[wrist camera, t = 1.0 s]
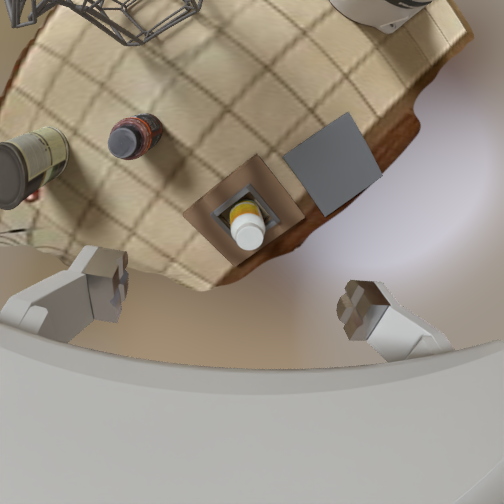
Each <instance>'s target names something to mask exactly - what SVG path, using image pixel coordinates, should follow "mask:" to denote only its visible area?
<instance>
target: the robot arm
mask: <svg viewBox="0 0 504 504" xmlns="http://www.w3.org/2000/svg"><path fill="white" fill-rule="evenodd" d="M329 1H330V2H331V3H332V4H333V6H334V7H335V8H336V9H337V10H339V11H340V12H341V13H342V14H344V15H345V16H347V17H348V18H350V19H352V20H354V21H356V22H358V23H361V24H365V25H369V26H373V27H375V28H377V29H379V30H380V31H382V32H383V33H385V34H391V33H393V32H394V31H396V30H397V29H398V28H399V27H400V26H402V25H403V24H404V23H405V22H406V21H408V20H409V19H410V18H411V17H413V16H414V15H415V14H416V13H418V12H419V11H420V10H421V9H423V8H424V7H425V6H426V5H428V4H430V3H431V2H432V1H434V0H329ZM390 24H391V25H392V27H391V26H390ZM127 264H128V254H127V252H126V251H121V250H115V249H109V248H103V247H98V246H90V245H86V246H84V248H83V249H82V251H81V252H80V253H79V255H78V256H77V258H76V259H75V260H74V262H73V263H72V265H71V266H70V268H69V269H68V271H66V270H63V271H61V272H59V273H57V274H55V275H53V276H51V277H49V278H46V279H44V280H43V281H41V282H39V283H37V284H35V285H33V286H31V287H29V288H27V289H25V290H23V291H21V292H19V293H17V294H15V295H14V296H12V297H10V298H9V300H8V301H7V303H6V304H5V306H4V307H3V309H2V310H1V312H0V504H504V342H503V341H501V340H495V341H492V342H488V343H484V344H480V345H477V346H473V347H469V348H464V349H461V350H456V351H455V349H454V348H453V347H452V345H451V344H450V342H449V341H448V339H447V338H446V336H445V335H444V334H443V333H442V332H441V331H439V330H437V329H436V328H435V327H433V326H432V325H430V324H429V323H427V322H426V321H424V320H423V319H422V318H420V317H419V316H417V315H416V314H414V313H412V312H411V311H410V310H408V309H407V308H405V307H404V306H400V304H399V303H398V302H397V300H396V299H395V298H394V296H393V295H392V294H391V292H390V291H389V290H388V288H387V287H386V286H385V285H384V283H382V282H374V281H357V280H350V281H349V282H348V283H347V285H346V287H345V291H346V293H345V294H344V295H343V296H341V297H340V299H339V301H338V304H337V316H338V318H339V320H340V321H342V322H343V323H344V324H345V325H344V330H345V332H346V334H347V336H348V338H349V340H367V342H368V343H369V344H370V345H371V346H372V347H373V348H374V349H375V350H376V351H377V352H378V353H379V354H380V355H381V356H382V357H383V358H384V359H385V360H386V361H387V362H388V363H380V364H371V365H361V366H349V367H334V368H315V369H242V368H223V367H208V366H197V365H187V364H177V363H168V362H160V361H154V360H146V359H141V358H134V357H128V356H122V355H117V354H112V353H107V352H102V351H97V350H93V349H88V348H84V347H80V346H76V345H72V344H68V342H69V341H70V340H72V339H73V338H74V337H75V336H76V335H77V334H79V333H80V332H81V331H82V330H83V329H84V328H85V327H87V326H88V325H89V324H90V323H91V322H93V321H94V319H96V320H101V321H107V322H114V323H117V322H118V319H119V316H120V313H121V310H122V306H121V302H123V301H124V300H125V298H126V295H127V290H128V281H129V280H128V279H129V278H128V273H127V271H126V270H125V268H126V267H127Z"/></svg>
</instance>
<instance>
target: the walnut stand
mask: <svg viewBox="0 0 504 504" xmlns="http://www.w3.org/2000/svg"><path fill="white" fill-rule="evenodd" d="M249 191H250V193H251V194H252V195H253V196H254V197H255V198H256V200H257V201H258V202H259V203H260V204H261V206H262V207H263V208H264V209H265V210H266V212H267V213H268V214H269V215H270V216H269V217H267V218H266V219H265V220H264V224H265V234H264V236H263V242H262V244H261V245H260V246H259V247H258V248H256V249H254V250H244V249H242V248H240V247H239V246H238V244H237V242H236V241H235V240H234V238H233V237H232V234H231V227H230V224H229V223H228V221H227V220H226V219H225V218H224V217H223V216H222V215H221V213H222V212H223V211H225V210H226V209H227V208H228V207H230V206H231V205H232V204H234V203H235V202H236V201H238V200H239V199H240V198H241V197H243V196H244V195H245V194H247V193H248V192H249ZM183 217H184V218H185V219H186V220H187V221H188V222H189V223H190V224H192V225H193V226H194V227H195V228H196V229H197V230H198V231H199V232H200V233H201V234H202V235H203V236H204V237H205V238H206V239H207V240H208V241H209V242H210V243H211V244H212V245H213V246H214V247H215V248H216V249H217V250H218V251H219V252H220V253H221V254H222V255H223V256H224V257H225V258H226V259H227V260H228V261H229V262H230V263H231V264H232V265H233V266H235V267H236V266H237V265H238V264H240V263H241V262H243V261H244V260H246V259H247V258H248V257H250V256H251V255H253V254H254V253H255V252H257V251H258V250H260V249H261V248H263V247H264V246H265V245H267V244H268V243H270V242H271V241H272V240H274V239H275V238H277V237H278V236H280V235H281V234H282V233H284V232H285V231H287V230H288V229H289V228H291V227H292V226H294V225H295V224H296V223H298V222H299V221H301V220H302V219H304V218H305V216H304V214H303V213H302V212H301V210H300V209H299V208H298V206H297V205H296V203H295V202H294V201H293V199H292V198H291V197H290V195H289V194H288V193H287V192H286V190H285V189H284V188H283V186H282V185H281V184H280V182H279V181H278V180H277V178H276V177H275V176H274V175H273V173H272V172H271V171H270V170H269V168H268V167H267V166H266V164H265V163H264V162H263V161H262V159H261V158H260V157H259V156H258V154H256V155H255V156H253V157H252V158H251V159H249V160H248V161H247V162H245V163H244V164H243V165H241V166H240V167H239V168H237V169H236V170H235V171H234V172H232V173H231V174H230V175H229V176H227V177H226V178H225V179H223V180H222V181H221V182H220V183H218V184H217V185H216V186H215V187H214V188H212V189H211V190H210V191H209V192H207V193H206V194H205V195H204V196H203V197H201V198H200V199H199V200H198V201H197V202H195V203H194V204H193V205H192V206H191V207H189V208H188V209H187V210H186V211H185V212H184V213H183Z"/></svg>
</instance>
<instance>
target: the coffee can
mask: <svg viewBox="0 0 504 504" xmlns="http://www.w3.org/2000/svg"><path fill="white" fill-rule="evenodd" d="M68 157H69V149H68V143H67V140H66V138H65V136H64V135H63V133H62V132H61V131H60V130H59V129H57V128H55V127H52V126H46V127H43V128H41V129H38V130H35V131H32V132H29V133H26V134H23V135H20V136H18V137H15V138H13V139H10V140H7V141H5V142H1V143H0V208H1V209H4V210H11V209H14V208H15V207H16V206H18V205H19V204H20V203H21V202H22V201H23V200H24V199H26V198H27V197H28V196H30V195H31V194H32V193H33V192H35V191H36V190H38V189H39V188H40V187H42V186H43V185H45V184H46V183H48V182H49V181H51V180H52V179H54V178H56V177H57V176H59V175H60V174H61V173H62V172H63V170H64V169H65V167H66V165H67V162H68Z"/></svg>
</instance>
